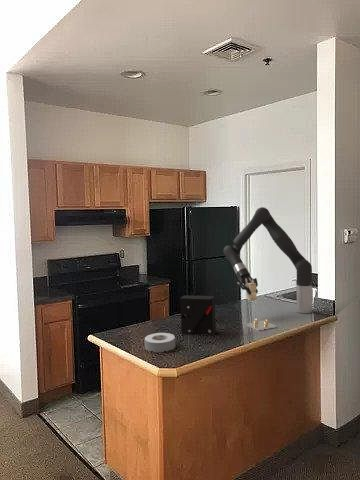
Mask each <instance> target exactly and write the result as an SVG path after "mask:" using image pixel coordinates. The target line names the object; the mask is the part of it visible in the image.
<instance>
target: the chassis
mask: <svg viewBox="0 0 360 480" xmlns="http://www.w3.org/2000/svg"><path fill="white" fill-rule="evenodd" d="M245 325H246V327H249V328H251V329H254V330H255V329H256V331H258V330H261V331H264V329H266V330H271V329H276V328H277V325H276V324H273V323H271V322H269V319H268V318H266V319H265V320H261V321H259V319H258V318H255V320H254V321H253V322H251V323H246V324H245ZM270 328H271V329H270Z"/></svg>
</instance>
